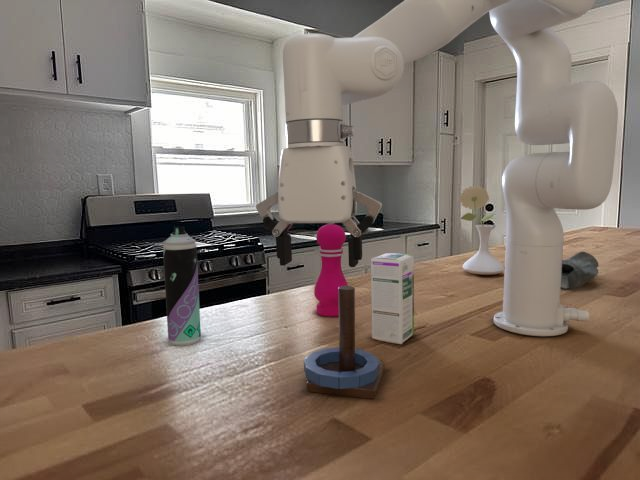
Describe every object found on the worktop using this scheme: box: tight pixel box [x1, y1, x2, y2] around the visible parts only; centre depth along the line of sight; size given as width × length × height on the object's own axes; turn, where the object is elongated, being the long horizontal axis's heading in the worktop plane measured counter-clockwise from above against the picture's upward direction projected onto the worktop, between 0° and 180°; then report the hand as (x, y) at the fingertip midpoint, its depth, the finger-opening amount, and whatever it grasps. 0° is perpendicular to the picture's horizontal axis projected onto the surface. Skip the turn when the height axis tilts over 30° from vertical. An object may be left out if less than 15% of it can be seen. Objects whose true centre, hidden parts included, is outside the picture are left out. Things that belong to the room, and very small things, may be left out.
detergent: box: [561, 251, 599, 290], centre depth 122 cm, size 13×7×25 cm
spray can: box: [162, 226, 202, 347], centre depth 80 cm, size 6×6×20 cm
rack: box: [306, 285, 385, 400], centre depth 63 cm, size 9×9×13 cm
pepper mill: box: [313, 223, 349, 318], centre depth 95 cm, size 7×7×20 cm
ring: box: [303, 347, 381, 389], centre depth 64 cm, size 10×10×2 cm
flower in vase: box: [458, 185, 505, 276], centre depth 131 cm, size 13×11×25 cm
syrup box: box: [370, 252, 415, 345], centre depth 80 cm, size 6×6×14 cm
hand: (319, 264), depth 63 cm, fingers open, 9 cm apart
